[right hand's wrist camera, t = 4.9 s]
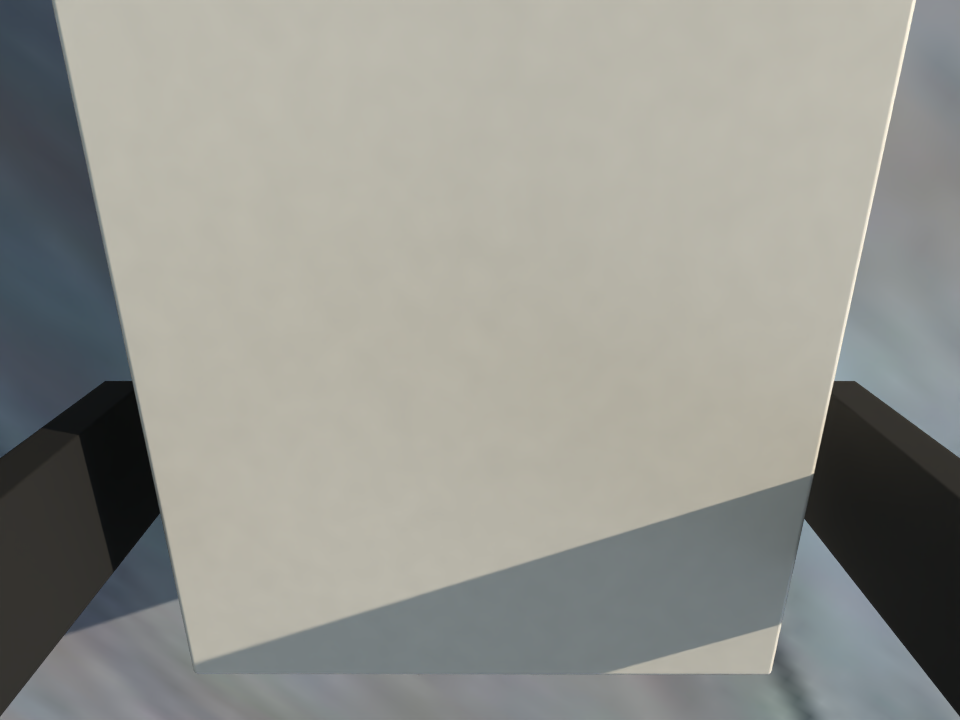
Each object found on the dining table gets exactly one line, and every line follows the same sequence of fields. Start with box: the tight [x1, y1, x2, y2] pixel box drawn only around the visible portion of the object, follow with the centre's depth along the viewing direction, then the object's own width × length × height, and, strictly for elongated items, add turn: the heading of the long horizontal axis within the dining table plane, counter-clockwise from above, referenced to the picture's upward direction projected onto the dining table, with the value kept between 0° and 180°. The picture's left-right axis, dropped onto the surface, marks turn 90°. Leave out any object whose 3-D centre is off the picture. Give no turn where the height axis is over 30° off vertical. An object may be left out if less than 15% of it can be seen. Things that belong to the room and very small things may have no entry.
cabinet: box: [52, 0, 916, 675], centre depth 12 cm, size 21×10×8 cm, turn 0°
